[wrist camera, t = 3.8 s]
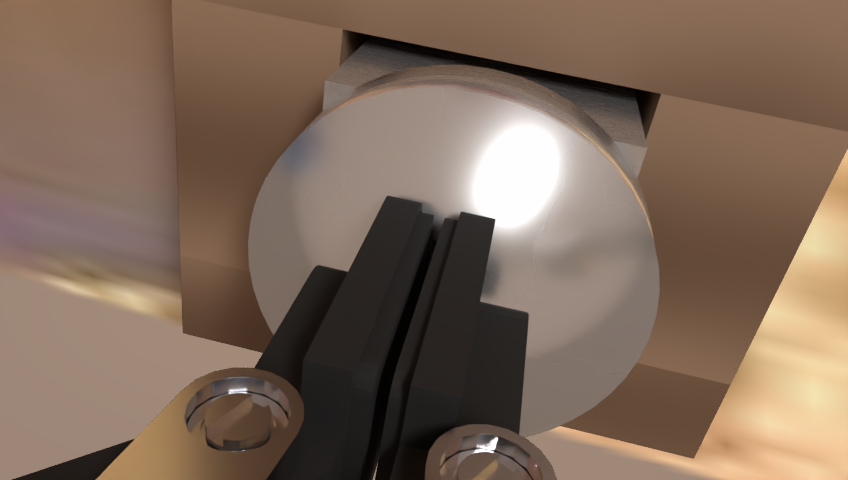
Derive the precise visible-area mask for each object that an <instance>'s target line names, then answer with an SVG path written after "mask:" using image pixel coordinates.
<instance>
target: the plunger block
mask: <svg viewBox="0 0 848 480" xmlns="http://www.w3.org/2000/svg"><path fill="white" fill-rule="evenodd" d="M171 2H172V31H173V60H174V89H175V118H176V146H177V175H178V204H179V233H180V261H181V290H182V319H183V333H185V334H189V335H193V336H197V337H201V338H205V339H209V340H213V341H217V342H221V343H226V344H230V345H234V346H238V347H242V348H246V349H250V350H254V351H258V352H262V353H264V351H265V349H266V348H267V346H268V344H269V342H270V341H271V339H272V337H273V336H274V335H273V333H272V332H271V330H270V328H269V326H268V324H267V322H266V320H265V318H264V316H263V314H262V312H261V310H260V307H259V304H258V301H257V298H256V295H255V292H254V289H253V285H252V279H251V274H250V269H249V256H248V239H249V229H250V221H251V217H252V213H253V209H254V206H255V202H256V199H257V197H258V194H259V192H260V190H261V187H262V185H263V183H264V180H265V179H266V177H267V175H268V174H269V172H270V171H271V169H272V168H273V166H274V164H275V163H276V161H277V160H278V159H279V157H280V156H281V155H282V154H283V153H284V152H285V151H286V150H287V148H288V147H289V146H290V145H291V144H292V143H293V142H294V141H295V139H296V138H297V137H298V136H299V135H300V134H301V133H302V132H303V131H304V130H305V129H306V128H307V127H308V126H309V125H310V123H311V122H312V121H313V120H314V119H315V118H316V117H317V116H318V115H319V114H320V113H321V112H322V111H323V99H324V86H325V80H326V79H327V78H328V77H329V76H330V75H331V74H332V73H333V72H334V71H335V70H336V69H337V68H338V67H340V66H341V65H342V64H343V63H344V62H345V61H346V60H347V59H348V58H349V57H350V56H351V55H352V54H353V53H354V52H355V51H356V50H357V49H358V48H359V47H360V46H362V45H363V44H364V43H365V42H366V41H367V40H368V39H369V38H370V37H371V36H372V35H373V36H378V37H383V38H388V39H393V40H398V41H403V42H408V43H413V44H418V45H423V46H428V47H433V48H437V49H442V50H447V51H452V52H457V53H462V54H467V55H472V56H477V57H482V58H487V59H492V60H497V61H502V62H507V63H511V64H516V65H521V66H526V67H531V68H536V69H541V70H546V71H551V72H556V73H561V74H566V75H571V76H576V77H581V78H586V79H590V80H595V81H600V82H605V83H610V84H615V85H620V86H625V87H630V88H634V91H635V95H636V100H637V104H638V108H639V113H640V117H641V122H642V126H643V130H644V135H645V139H646V144H647V151H646V154H645V157H644V160H643V163H642V166H641V169H640V172H639V175H638V178H637V179H638V181H639V183H640V186H641V189H642V192H643V195H644V197H645V200H646V203H647V207H648V212H649V217H650V223H651V228H652V233H653V238H654V243H655V249H656V254H657V259H658V265H659V287H660V293H659V300H658V307H657V315H656V318H655V322H654V325H653V328H652V331H651V335H650V338H649V340H648V342H647V344H646V346H645V348H644V350H643V352H642V354H641V356H640V358H639V360H638V361H637V363H636V364H635V365H634V367H633V368H632V370H631V371H630V373H629V374H628V375H627V377H626V378H625V379H624V380H623V381H622V382H621V383H620V384H619V385H618V386H617V387H616V389H615V390H614V391H613V392H612V393H611V394H610V395H608V396H607V397H606V398H605V399H603V400H602V401H601V402H600V403H598V404H597V405H596V406H595V407H593V408H592V409H590V410H588V411H587V412H585V413H584V414H582V415H580V416H579V417H577V418H575V419H574V420H571V421H569V422H567V423H565V424H563V425H560V426H563V427H567V428H571V429H575V430H579V431H583V432H588V433H592V434H596V435H600V436H604V437H608V438H612V439H616V440H620V441H624V442H628V443H632V444H636V445H640V446H645V447H649V448H653V449H657V450H661V451H665V452H669V453H673V454H677V455H681V456H685V457H689V458H693V459H694V457H695V455H696V453H697V451H698V449H699V447H700V445H701V443H702V441H703V439H704V437H705V435H706V433H707V431H708V429H709V427H710V425H711V423H712V421H713V419H714V417H715V415H716V413H717V411H718V409H719V407H720V405H721V403H722V401H723V399H724V397H725V395H726V393H727V390H728V388H729V386H730V384H731V382H732V380H733V378H734V376H735V374H736V372H737V370H738V368H739V366H740V364H741V362H742V360H743V358H744V356H745V354H746V352H747V350H748V348H749V346H750V344H751V342H752V340H753V338H754V336H755V334H756V332H757V330H758V328H759V326H760V324H761V322H762V320H763V318H764V316H765V314H766V312H767V310H768V308H769V306H770V304H771V302H772V300H773V298H774V296H775V294H776V292H777V290H778V288H779V286H780V284H781V282H782V280H783V278H784V276H785V274H786V272H787V270H788V268H789V266H790V264H791V262H792V260H793V258H794V255H795V253H796V251H797V249H798V247H799V245H800V243H801V241H802V239H803V237H804V235H805V233H806V231H807V229H808V227H809V225H810V223H811V221H812V219H813V217H814V215H815V213H816V211H817V209H818V207H819V205H820V203H821V201H822V199H823V197H824V195H825V193H826V191H827V189H828V187H829V185H830V183H831V181H832V179H833V177H834V175H835V173H836V171H837V169H838V167H839V165H840V163H841V161H842V159H843V157H844V155H845V153H846V151H847V149H848V0H171Z"/></svg>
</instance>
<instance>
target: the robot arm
mask: <svg viewBox="0 0 848 480" xmlns="http://www.w3.org/2000/svg"><path fill="white" fill-rule="evenodd" d="M422 206H423V205H422V203H420V202H416V201H411V200H406V199H402V198H397V197H393V196H387V197H386V198H385V200H384V202H383V204H382V206H381V208H380V210H379V212H378V214H377V216H376V218H375V220H374V222H373V224H372V226H371V228H370V230H369V232H368V233H367V235H366V237H365V239H364V241H363V243H362V245H361V247H360V249H359V251H358V253H357V255H356V257H355V259H354V261H353V263H352V265H351V267H350V269H349V271H343V270H339V269H334V268H330V267H326V266H321V265H318V266H315V268H314V269H313V270H312V272H311V273H310V275H309V277H308V278H307V280H306V282H305V284H304V285H303V287H302V289H301V290H300V292H299V294H298V295H297V297H296V299H295V300H294V302H293V304H292V305H291V307H290V309H289V310H288V312H287V314H286V316H285V317H284V319H283V321H282V322H281V324H280V326H279V327H278V329H277V331H276V332H275V334H274V336H273V337H272V339H271V341H270V342H269V344H268V346H267V348H266V349H265V351H264V353H263V354H262V356H261V358H260V359H259V361H258V363H257V365H256V366H255V368H230V369H224V370H219V371H214V372H212V373H209V374H207V375H205V376H203V377H200V378H198V379H196V380H195V381H193V382H192V383H191V384H189V385H188V386H187V387H186V388H184V389H183V390H182V391H181V392H180V393H179V394H178V395H177V396H176V397H175V398H174V399H173V400H172V401H171V402H170V403H169V405H167V406H166V407H165V409H164V410H162V412H161V413H160V414H159V415H158V416H157V417H156V418H155V419H154V420H153V421H152V422H151V423H150V424H149V425H148V426H147V427H146V428H145V429H144V430H143V431H142V432H141V433H140V434H139V435H138V436H137V437H136V438H135V439H133V440H130V441H127V442H124V443H121V444H118V445H115V446H112V447H109V448H106V449H103V450H100V451H97V452H94V453H91V454H88V455H85V456H82V457H79V458H76V459H73V460H70V461H67V462H64V463H61V464H58V465H55V466H52V467H49V468H46V469H43V470H40V471H37V472H34V473H31V474H28V475H25V476H22V477H19V478H16V479H13V480H372V479H373V476H374V473H375V470H376V466H377V463H378V466H377V472H376V478H375V480H557V479H556V476H555V473H554V470H553V467H552V465H551V464H550V462H549V461H548V460H547V458H546V457H545V455H544V454H543V453H542V451H541V450H539V449H538V448H537V447H536V446H535V445H534V444H532V443H531V442H530V441H529V440H527V439H526V438H525V437H523V436H520V435H519V431H520V419H521V407H522V395H523V383H524V371H525V359H526V346H527V334H528V322H529V314H528V312H524V311H520V310H515V309H511V308H506V307H502V306H498V305H493V304H489V303H484V302H480V299H481V294H482V289H483V283H484V278H485V273H486V268H487V262H488V257H489V252H490V247H491V242H492V236H493V231H494V226H495V220H496V219H494V218H489V217H485V216H480V215H475V214H471V213H466V212H462V211H461V213H460V216H459V219H458V220H454V219H450V218H445V219H444V222H443V225H442V228H441V231H440V234H439V237H438V240H437V244H436V247H435V250H434V253H433V256H432V259H431V262H430V265H429V268H428V271H427V274H426V277H425V280H424V283H423V277H424V271H425V266H426V260H427V255H428V249H429V243H430V238H431V232H432V227H433V221H434V215H432V214H427V213H422ZM422 283H423V286H422ZM421 288H422V290H421Z"/></svg>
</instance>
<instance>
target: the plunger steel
mask: <svg viewBox="0 0 848 480" xmlns="http://www.w3.org/2000/svg"><path fill="white" fill-rule="evenodd" d="M646 151H647V144H646V139H645V135H644V130H643V126H642V122H641V117H640V113H639V108H638V104H637V100H636V95H635V91H634V88H630V87H625V86H620V85H615V84H610V83H605V82H600V81H595V80H590V79H586V78H581V77H576V76H571V75H566V74H561V73H556V72H551V71H546V70H541V69H536V68H531V67H526V66H521V65H516V64H511V63H507V62H502V61H497V60H492V59H487V58H482V57H477V56H472V55H467V54H462V53H457V52H452V51H447V50H442V49H437V48H433V47H428V46H423V45H418V44H413V43H408V42H403V41H398V40H393V39H388V38H383V37H378V36H373V35H372V36H371V37H370V38H369V39H368V40H367V41H366V42H365V43H364V44H363V45H362V46H360V47H359V48H358V49H357V50H356V51H355V52H354V53H353V54H352V55H351V56H350V57H349V58H348V59H347V60H346V61H345V62H344V63H343V64H342V65H341V66H340V67H338V68H337V69H336V70H335V71H334V72H333V73H332V74H331V75H330V76H329V77H328V78H327V79H326V80H325V86H324V99H323V111H322V112H321V113H320V114H319V115H318V116H317V117H316V118H315V119H314V120H313V121H312V122H311V123H310V125H309V126H308V127H307V128H306V129H305V130H304V131H303V132H302V133H301V134H300V135H299V136H298V137H297V138H296V139H295V141H294V142H293V143H292V144H291V145H290V146H289V147H288V148H287V150H286V151H285V152H284V153H283V154H282V155H281V156H280V157H279V159H278V160H277V161H276V163H275V164H274V166H273V168H272V169H271V171H270V172H269V174H268V175H267V177H266V179H265V180H264V183H263V185H262V187H261V190H260V192H259V194H258V197H257V199H256V202H255V206H254V209H253V213H252V217H251V221H250V229H249V239H248V256H249V269H250V274H251V279H252V285H253V289H254V292H255V295H256V298H257V301H258V304H259V307H260V310H261V312H262V314H263V316H264V318H265V320H266V322H267V324H268V326H269V328H270V330H271V332H272V333H273V335H274V334H275V332H276V331H277V329H278V327H279V326H280V324H281V322H282V321H283V319H284V317H285V316H286V314H287V312H288V310H289V309H290V307H291V305H292V304H293V302H294V300H295V299H296V297H297V295H298V294H299V292H300V290H301V289H302V287H303V285H304V284H305V282H306V280H307V278H308V277H309V275H310V273H311V272H312V270H313V269H314V268H315V266H318V265H321V266H326V267H330V268H334V269H339V270H343V271H349V269H350V267H351V265H352V263H353V261H354V259H355V257H356V255H357V253H358V251H359V249H360V247H361V245H362V243H363V241H364V239H365V237H366V235H367V233H368V232H369V230H370V228H371V226H372V224H373V222H374V220H375V218H376V216H377V214H378V212H379V210H380V208H381V206H382V204H383V202H384V200H385V198H386V197H387V196H393V197H397V198H402V199H406V200H411V201H416V202H420V203H422V205H423V206H422V213H427V214H432V215H434V221H433V227H432V232H431V238H430V243H429V249H428V255H427V260H426V266H425V271H424V277H423V283H424V280H425V277H426V274H427V271H428V268H429V265H430V262H431V259H432V256H433V253H434V250H435V247H436V244H437V240H438V237H439V234H440V231H441V228H442V225H443V222H444V219H445V218H450V219H454V220H458V219H459V216H460V213H461V211H462V212H466V213H471V214H475V215H480V216H485V217H489V218H494V219H496V220H495V226H494V231H493V236H492V242H491V247H490V252H489V257H488V262H487V268H486V273H485V278H484V283H483V289H482V294H481V299H480V302H484V303H489V304H493V305H498V306H502V307H506V308H511V309H515V310H520V311H524V312H528V314H529V322H528V334H527V346H526V359H525V371H524V383H523V395H522V407H521V419H520V431H519V435H520V436H523V437H528V436H532V435H535V434H538V433H541V432H545V431H548V430H551V429H554V428H556V427H558V426H560V425H563V424H565V423H567V422H569V421H571V420H574V419H575V418H577V417H579V416H580V415H582V414H584V413H585V412H587V411H588V410H590V409H592V408H593V407H595V406H596V405H597V404H598V403H600V402H601V401H602V400H603V399H605V398H606V397H607V396H608V395H610V394H611V393H612V392H613V391H614V390H615V389H616V387H617V386H618V385H619V384H620V383H621V382H622V381H623V380H624V379H625V378H626V377H627V375H628V374H629V373H630V371H631V370H632V368H633V367H634V365H635V364H636V363H637V361H638V360H639V358H640V356H641V354H642V352H643V350H644V348H645V346H646V344H647V342H648V340H649V338H650V335H651V331H652V328H653V325H654V322H655V318H656V315H657V307H658V300H659V293H660V287H659V265H658V259H657V254H656V249H655V243H654V238H653V233H652V228H651V223H650V217H649V212H648V207H647V203H646V200H645V197H644V195H643V192H642V189H641V186H640V183H639V181H638V179H637V178H638V175H639V172H640V169H641V166H642V163H643V160H644V157H645V154H646ZM423 283H422V286H423ZM421 290H422V288H421Z"/></svg>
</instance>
